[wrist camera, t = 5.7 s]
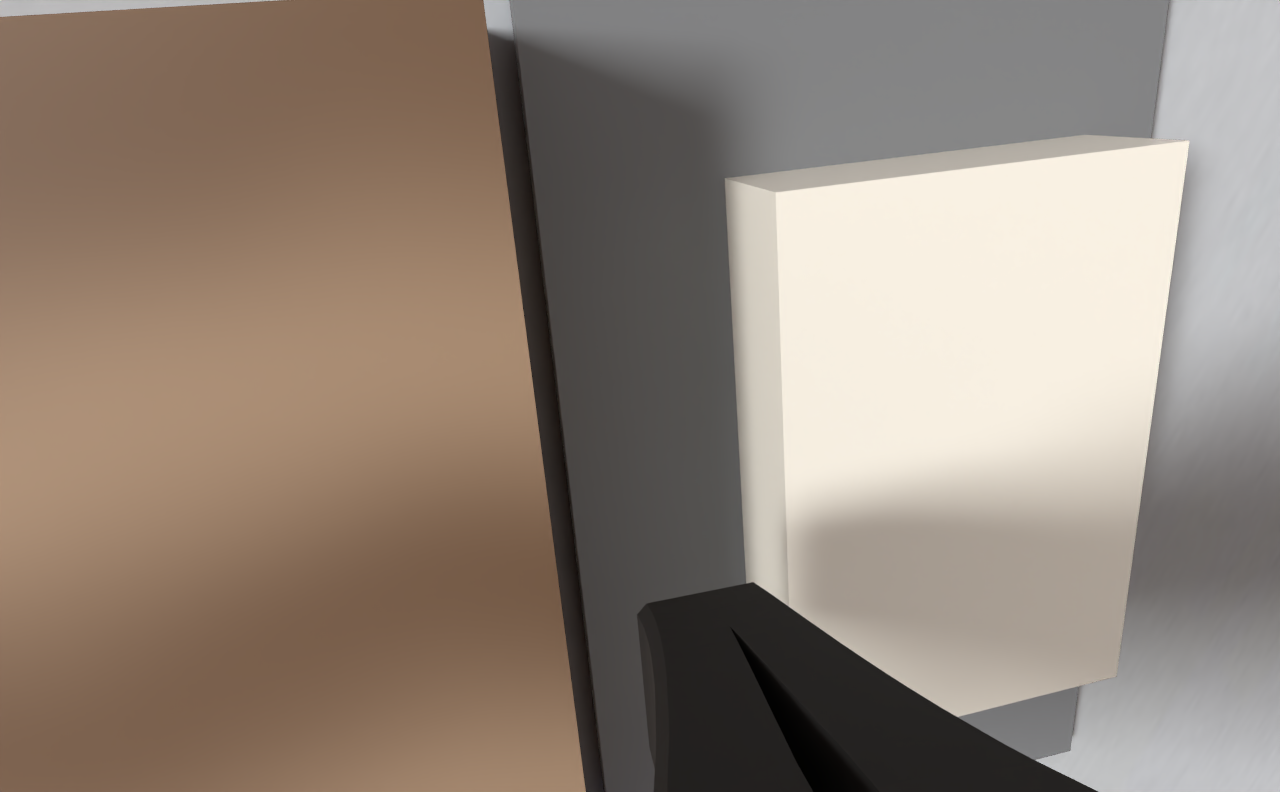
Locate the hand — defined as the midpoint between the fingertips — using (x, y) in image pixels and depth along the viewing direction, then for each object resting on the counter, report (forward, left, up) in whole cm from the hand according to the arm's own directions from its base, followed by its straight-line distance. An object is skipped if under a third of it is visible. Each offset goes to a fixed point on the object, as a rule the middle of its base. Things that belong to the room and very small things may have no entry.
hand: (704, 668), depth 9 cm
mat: (0, -4, -5) cm, 7 cm away
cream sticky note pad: (0, -5, -3) cm, 6 cm away
